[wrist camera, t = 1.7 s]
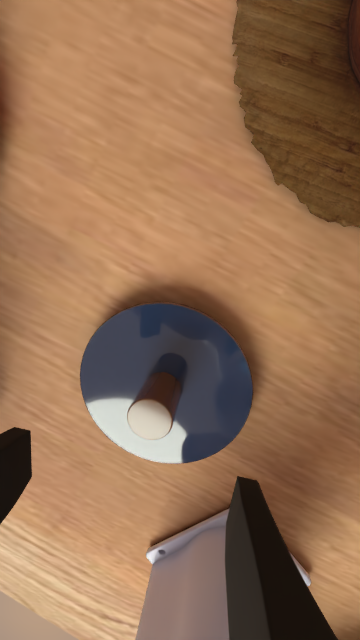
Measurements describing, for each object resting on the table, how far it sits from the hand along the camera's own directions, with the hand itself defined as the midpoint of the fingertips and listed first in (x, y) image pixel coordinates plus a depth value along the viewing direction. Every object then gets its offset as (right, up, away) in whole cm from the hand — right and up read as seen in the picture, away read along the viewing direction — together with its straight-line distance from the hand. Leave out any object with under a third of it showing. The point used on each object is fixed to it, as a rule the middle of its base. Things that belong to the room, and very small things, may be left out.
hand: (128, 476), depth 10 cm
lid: (+1, +1, +8) cm, 9 cm away
